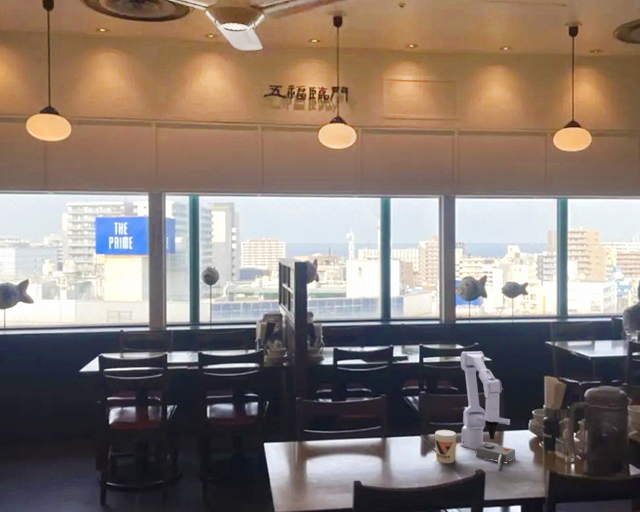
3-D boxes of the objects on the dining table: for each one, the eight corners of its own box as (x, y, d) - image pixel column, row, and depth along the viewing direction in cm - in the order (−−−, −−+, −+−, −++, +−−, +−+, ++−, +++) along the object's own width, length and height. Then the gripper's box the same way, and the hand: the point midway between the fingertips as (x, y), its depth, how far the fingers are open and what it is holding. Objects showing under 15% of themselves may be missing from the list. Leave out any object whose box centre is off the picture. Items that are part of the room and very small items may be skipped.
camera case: (476, 456, 281) (476, 446, 281) (485, 451, 288) (485, 441, 288) (505, 463, 272) (506, 453, 272) (515, 458, 279) (515, 448, 279)
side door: (500, 470, 264) (501, 461, 264) (497, 469, 264) (497, 460, 264) (503, 462, 273) (503, 454, 273) (499, 462, 273) (499, 453, 273)
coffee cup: (431, 461, 275) (432, 434, 274) (438, 455, 283) (438, 428, 283) (452, 465, 270) (453, 437, 270) (458, 458, 279) (459, 431, 278)
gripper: (473, 407, 274) (473, 439, 275) (507, 412, 268) (507, 443, 268) (477, 404, 280) (476, 434, 281) (510, 408, 274) (510, 439, 274)
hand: (492, 438), depth 275 cm, fingers closed
